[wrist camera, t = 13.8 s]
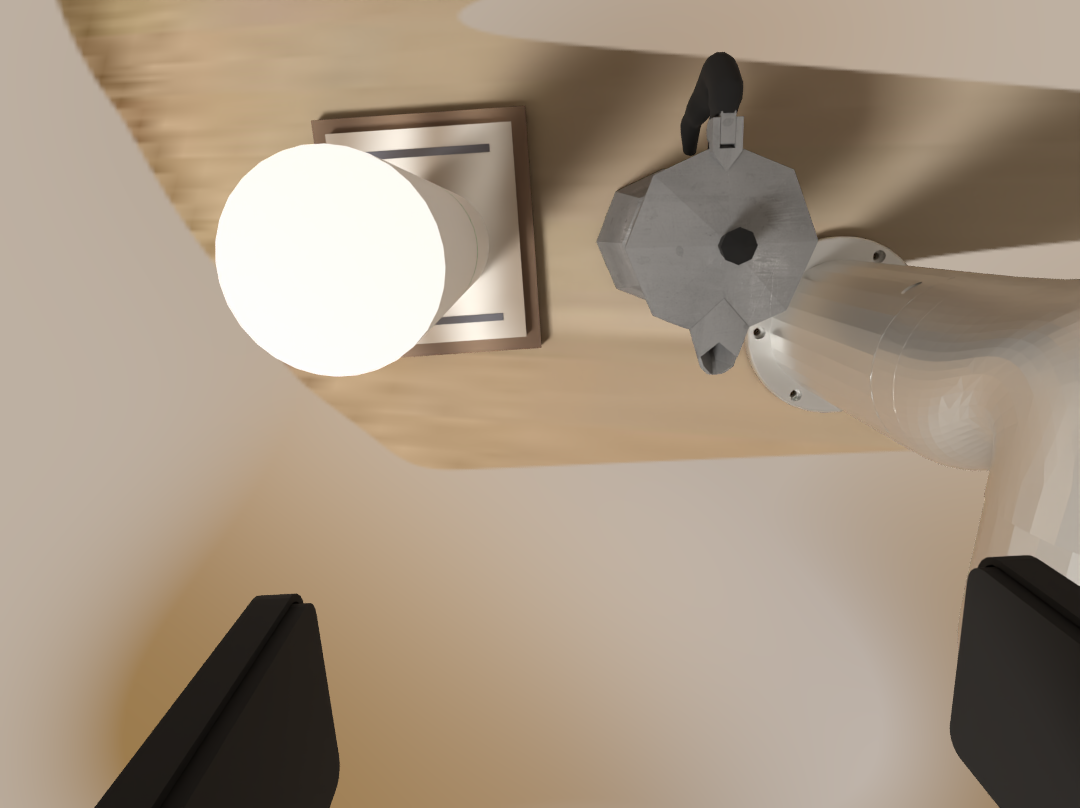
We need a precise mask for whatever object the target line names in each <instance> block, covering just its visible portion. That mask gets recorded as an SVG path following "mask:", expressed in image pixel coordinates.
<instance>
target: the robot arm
mask: <svg viewBox="0 0 1080 808" xmlns="http://www.w3.org/2000/svg"><path fill="white" fill-rule="evenodd" d="M874 253H875V254H876V258H875V259H873V255H874ZM756 328H758V333H757V334H755V335H754V334H753V332H754V330H755V329H756ZM745 346H746V352H747V355H748V358H749V361H750V364H751V367H752V369H753V370H754V372H755V374H756V375H757V377H758V379H759V380H760V381H761V382H762V383H763V384H764V386H765V387H766V388H767V389H768V390H769V391H770V392H772V393H773V394H774V395H776V396H777V397H778V398H780V399H781V400H783V401H785V402H786V403H788V404H790V405H792V406H794V407H797V408H800V409H804V410H807V411H813V412H821V413H828V412H841V411H844V412H846V413H848V414H849V415H851V416H853V417H855V418H856V419H858V420H860V421H861V422H863V423H865V424H866V425H868V426H870V427H872V428H873V429H875V430H877V431H878V432H880V433H882V434H883V435H885V436H887V437H889V438H890V439H892V440H894V441H895V442H897V443H899V444H901V445H903V446H905V447H906V448H908V449H910V450H912V451H913V452H915V453H917V454H919V455H920V456H922V457H924V458H926V459H928V460H931V461H933V462H935V463H938V464H941V465H944V466H948V467H952V468H956V469H962V470H973V471H977V470H978V471H989V475H988V480H987V484H986V489H985V493H984V497H985V501H984V505H983V509H982V514H981V518H980V523H979V527H978V531H977V536H976V540H975V545H974V549H973V554H972V558H971V562H970V567H969V571H968V576H967V580H966V584H965V588H964V595H963V600H962V604H961V609H960V616H959V623H958V638H957V643H958V652H959V653H958V663H957V671H956V679H955V687H954V696H953V704H952V713H951V721H950V735H951V740H952V743H953V746H954V748H955V750H956V753H957V754H958V756H959V757H960V759H961V760H962V761H963V762H964V764H965V765H966V766H967V767H968V769H969V770H970V771H971V772H972V774H973V775H974V776H975V777H976V779H977V780H978V781H979V782H980V784H981V785H982V786H983V787H984V789H985V790H986V791H987V792H988V794H989V795H990V796H991V797H992V799H993V800H994V801H995V802H996V804H997V805H998V806H999V807H1000V808H1080V279H1070V280H1064V279H1046V278H1028V277H1013V276H1003V275H993V274H982V273H972V272H963V271H952V270H944V269H934V268H924V267H915V266H908V265H907V264H906V263H905V262H904V260H903V259H902V258H901V257H900V256H898V255H897V254H896V253H894V252H893V251H892V250H891V249H889V248H888V247H885V246H883V245H881V244H879V243H877V242H875V241H872V240H868V239H864V238H859V237H849V236H839V237H826V238H822V239H818V243H817V245H816V247H815V249H814V252H813V254H812V256H811V258H810V260H809V262H808V265H807V267H806V269H805V271H804V273H803V275H802V278H801V280H800V282H799V284H798V286H797V288H796V291H795V293H794V295H793V297H792V299H791V302H790V304H789V306H788V308H787V310H786V311H784V312H782V313H780V314H777V315H775V316H773V317H771V318H768V319H766V320H764V321H762V322H759V323H757V324H755V325H753V326H750V327H749V329H748V332H747V334H746V337H745ZM793 390H794V394H793V395H791V396H790V393H791V392H792V391H793ZM339 764H340V762H339V753H338V747H337V741H336V734H335V728H334V722H333V716H332V709H331V703H330V696H329V690H328V684H327V677H326V671H325V665H324V659H323V653H322V646H321V640H320V633H319V627H318V621H317V614H316V610H315V608H314V605H313V604H311V603H303V600H302V598H301V596H300V595H298V594H280V595H261V596H256V597H255V598H254V599H253V600H252V601H251V602H250V604H249V605H248V606H247V608H246V609H245V610H244V612H243V613H242V614H241V616H240V617H239V618H238V619H237V621H236V622H235V623H234V625H233V626H232V628H231V629H230V630H229V631H228V633H227V634H226V635H225V637H224V638H223V639H222V641H221V642H220V643H219V644H218V646H217V647H216V648H215V650H214V651H213V652H212V654H211V655H210V656H209V658H208V659H207V660H206V662H205V663H204V664H203V666H202V667H201V668H200V670H199V671H198V672H197V673H196V675H195V676H194V677H193V679H192V680H191V681H190V683H189V684H188V685H187V687H186V688H185V689H184V691H183V692H182V693H181V694H180V696H179V697H178V698H177V700H176V701H175V702H174V704H173V705H172V706H171V708H170V709H169V710H168V712H167V713H166V715H165V716H164V717H163V718H162V719H161V721H160V722H159V724H158V725H157V726H156V727H155V729H154V730H153V731H152V733H151V734H150V735H149V737H148V738H147V739H146V741H145V742H144V743H143V745H142V746H141V747H140V748H139V750H138V751H137V752H136V754H135V755H134V756H133V758H132V759H131V760H130V762H129V763H128V764H127V765H126V767H125V768H124V769H123V771H122V772H121V774H120V775H119V776H118V777H117V779H116V780H115V781H114V783H113V784H112V785H111V787H110V788H109V789H108V790H107V792H106V793H105V794H104V796H103V797H102V799H101V800H100V801H99V802H98V804H97V805H96V806H95V808H330V805H331V802H332V799H333V796H334V794H335V791H336V787H337V784H338V779H339V767H340V765H339Z"/></svg>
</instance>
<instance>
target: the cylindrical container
mask: <svg viewBox="0 0 1080 808" xmlns="http://www.w3.org/2000/svg"><path fill="white" fill-rule="evenodd" d="M488 254H489V237H488V232H487V229H486V225H485V223H484V221H483V219H482V217H481V215H480V214H479V213H478V211H477V210H476V209H475V207H474V206H473V205H472V204H470V203H469V202H468V201H467V200H466V199H464V198H463V197H461V196H459V195H457V194H456V193H453V192H451V191H449V190H447V189H445V188H442V187H440V186H438V185H436V184H434V183H432V182H430V181H427V180H425V179H423V178H421V177H419V176H417V175H414V174H412V173H410V172H408V171H406V170H404V169H401V168H399V167H397V166H395V165H393V164H391V163H388V162H386V161H384V160H382V159H380V158H378V157H375V156H373V155H371V154H369V153H366V152H363V151H360V150H357V149H354V148H351V147H347V146H341V145H333V144H325V143H323V144H309V145H301V146H297V147H294V148H290V149H287V150H283V151H280V152H278V153H276V154H275V155H273V156H271V157H269V158H267V159H265V160H263V161H262V162H260V163H259V164H258V165H256V166H255V167H254V168H253V169H252V170H251V171H250V172H249V173H247V174H246V175H245V176H244V177H243V178H242V179H241V181H240V182H239V183H238V185H237V186H236V188H235V189H234V190H233V192H232V193H231V195H230V196H229V198H228V200H227V202H226V205H225V207H224V210H223V212H222V214H221V217H220V220H219V225H218V231H217V236H216V267H217V272H218V277H219V283H220V286H221V288H222V291H223V294H224V296H225V299H226V302H227V304H228V306H229V308H230V309H231V311H232V313H233V314H234V316H235V318H236V319H237V321H238V322H239V324H240V325H241V327H242V328H243V329H244V330H245V331H246V332H247V333H248V335H250V337H251V338H252V339H253V340H254V341H255V342H256V343H257V344H258V345H259V346H261V347H262V348H263V349H265V350H266V351H267V352H268V353H270V354H271V355H272V356H274V357H275V358H277V359H279V360H281V361H283V362H285V363H287V364H289V365H291V366H293V367H295V368H297V369H300V370H304V371H307V372H311V373H314V374H318V375H327V376H337V377H338V376H352V375H359V374H363V373H367V372H371V371H375V370H378V369H380V368H382V367H384V366H386V365H388V364H390V363H392V362H394V361H396V360H398V359H399V358H400V357H401V356H403V355H404V354H405V353H406V352H408V351H409V350H410V349H411V348H413V347H414V346H415V345H416V344H417V343H418V342H419V341H420V340H421V339H422V337H423V336H424V335H425V334H426V333H427V332H428V331H429V330H430V329H431V328H432V327H433V326H434V325H435V324H436V323H437V322H438V321H439V320H440V318H441V317H442V316H443V315H444V314H445V313H446V312H447V311H448V310H449V309H450V308H451V307H452V306H453V305H454V304H455V303H456V302H457V301H458V299H459V298H460V297H461V296H462V295H463V294H464V293H465V292H466V291H467V290H468V289H469V288H470V287H471V286H472V285H473V284H474V283H475V281H476V280H477V279H478V278H479V276H480V275H481V273H482V271H483V269H484V267H485V266H486V262H487V259H488Z"/></svg>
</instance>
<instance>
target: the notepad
mask: <svg viewBox="0 0 1080 808" xmlns="http://www.w3.org/2000/svg"><path fill="white" fill-rule="evenodd" d="M311 124H312V131H313V138H314V144H323V143H325V144H333V145H341V146H347V147H351V148H354V149H357V150H360V151H363V152H366V153H369V154H371V155H373V156H375V157H378V158H380V159H382V160H384V161H386V162H388V163H391V164H393V165H395V166H397V167H399V168H401V169H404V170H406V171H408V172H410V173H412V174H414V175H417V176H419V177H421V178H423V179H425V180H427V181H430V182H432V183H434V184H436V185H438V186H440V187H442V188H445V189H447V190H449V191H451V192H453V193H456V194H457V195H459V196H461V197H463V198H464V199H466V200H467V201H468V202H469V203H470V204H472V205H473V206H474V207H475V209H476V210H477V211H478V213H479V214H480V215H481V217H482V219H483V221H484V223H485V225H486V229H487V232H488V237H489V254H488V259H487V262H486V266H485V267H484V269H483V271H482V273H481V275H480V276H479V278H478V279H477V280H476V281H475V283H474V284H473V285H472V286H471V287H470V288H469V289H468V290H467V291H466V292H465V293H464V294H463V295H462V296H461V297H460V298H459V299H458V301H457V302H456V303H455V304H454V305H453V306H452V307H451V308H450V309H449V310H448V311H447V312H446V313H445V314H444V315H443V316H442V317H441V318H440V320H439V321H438V322H437V323H436V324H435V325H434V326H433V327H432V328H431V329H430V330H429V331H428V332H427V333H426V334H425V335H424V336H423V337H422V339H421V340H420V341H419V342H418V343H417V344H416V345H415V346H414V347H413V348H411V349H410V350H409V351H408V352H406V353H405V354H404V355H403V356H401V357H415V356H429V355H443V354H458V353H472V352H487V351H501V350H516V349H530V348H541V333H540V318H539V303H538V288H537V273H536V259H535V244H534V229H533V214H532V199H531V184H530V169H529V154H528V139H527V125H526V110H525V106H515V107H501V108H486V109H472V110H457V111H443V112H428V113H414V114H399V115H385V116H370V117H356V118H342V119H327V120H313V121H311Z"/></svg>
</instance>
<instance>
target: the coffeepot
mask: <svg viewBox="0 0 1080 808" xmlns="http://www.w3.org/2000/svg"><path fill="white" fill-rule="evenodd" d="M742 95H743V80H742V77H741V74H740V71H739V68H738V65H737V63H736V61H735V59H734V58H733V57H732V56H730V55H729V54H727V53H725V52H717V53H715V54H713V55H711V56H710V57H709V58H708V59H707V60H706V62H705V63H704V65H703V67H702V70H701V73H700V76H699V79H698V82H697V84H696V87H695V89H694V92H693V94H692V96H691V98H690V100H689V102H688V105H687V108H686V111H685V114H684V116H683V118H682V121H681V138H682V145H683V152H684V154H686V155H689V156H692V155H694V154H695V153H696V149H697V143H698V138H699V133H700V127H701V124H702V123H704V122H705V121H706V120H707V119H708V118H709V116H710V118H709V121H708V124H707V140H708V150H705V151H703V152H701V153H699V154H697V155H695V156H693V157H691V158H689V159H687V160H684V161H682V162H680V163H678V164H676V165H674V166H672V167H670V168H668V169H662V170H660V171H658V172H656V173H654V174H652V175H650V176H647V177H645V178H643V179H641V180H639V181H637V182H635V183H633V184H631V185H628V186H626V187H624V188H622V189H620V190H618V191H616V192H615V194H614V197H613V200H612V202H611V205H610V207H609V210H608V212H607V215H606V217H605V221H604V223H603V226H602V229H601V231H600V234H599V236H598V239H597V244H598V247H599V249H600V251H601V254H602V256H603V259H604V261H605V264H606V266H607V268H608V270H609V272H610V275H611V277H612V279H613V282H614V284H615V287H616V289H619V290H621V291H624V292H626V293H629V294H632V295H634V296H637V297H640V298H642V299H645V300H646V301H647V304H648V306H649V308H650V310H651V313H652V315H653V316H655V317H658V318H660V319H662V320H665V321H667V322H670V323H672V324H675V325H678V326H680V327H683V328H686V329H689V330H690V334H691V337H692V341H693V344H694V347H695V351H696V354H697V358H698V361H699V365H700V368H701V369H702V370H703V371H704V372H706V373H707V374H712V375H713V374H722V373H724V372H726V371H728V370H729V369H730V368H732V367H733V366H734V363H735V360H736V357H738V354H739V352H740V349H741V347H742V344H743V342H744V339H745V337H746V334H747V332H748V329H749V327H750V326H753V325H755V324H757V323H759V322H762V321H764V320H766V319H768V318H771V317H773V316H775V315H777V314H780V313H782V312H784V311H786V310H787V308H788V306H789V304H790V302H791V299H792V297H793V295H794V293H795V291H796V288H797V286H798V284H799V282H800V280H801V278H802V275H803V273H804V271H805V269H806V267H807V265H808V262H809V260H810V258H811V256H812V254H813V252H814V249H815V247H816V245H817V243H818V238H817V235H816V232H815V229H814V226H813V223H812V220H811V217H810V214H809V212H808V209H807V206H806V203H805V200H804V197H803V194H802V191H801V188H800V185H799V182H798V179H797V176H796V173H795V170H794V169H791V168H789V167H787V166H784V165H782V164H779V163H777V162H774V161H772V160H770V159H767V158H765V157H762V156H760V155H757V154H755V153H752V152H750V151H748V150H745V149H743V128H744V116H739V117H736V113H737V111H738V108H739V105H740V103H741V100H742Z"/></svg>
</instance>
